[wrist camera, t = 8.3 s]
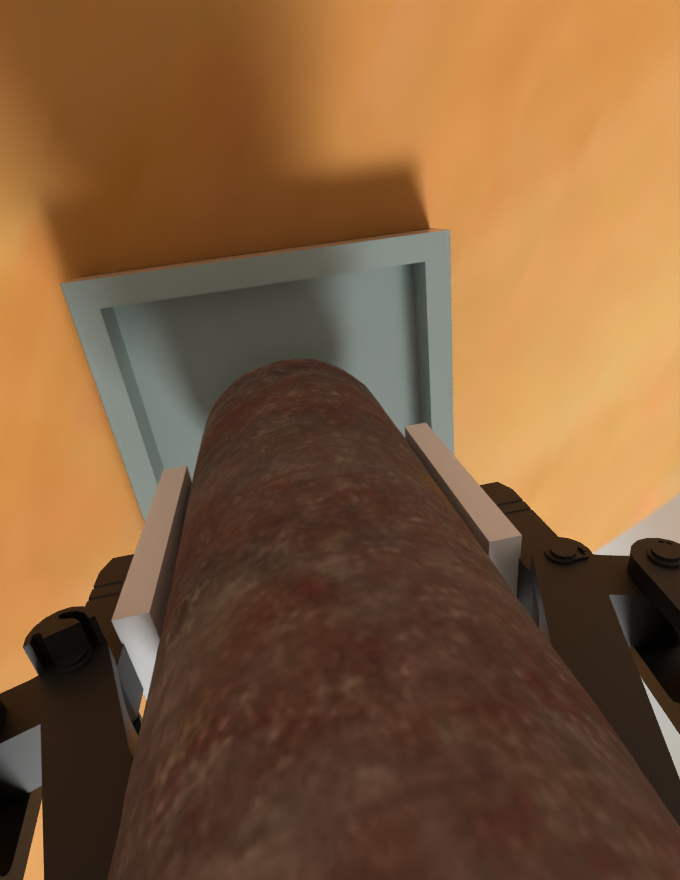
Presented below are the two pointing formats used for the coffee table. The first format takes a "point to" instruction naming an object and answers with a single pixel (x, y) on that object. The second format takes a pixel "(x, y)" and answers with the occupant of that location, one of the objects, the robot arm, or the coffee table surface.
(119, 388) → the dish
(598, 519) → the coffee table surface
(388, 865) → the dark brown cylinder
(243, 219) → the coffee table surface
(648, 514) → the coffee table surface
